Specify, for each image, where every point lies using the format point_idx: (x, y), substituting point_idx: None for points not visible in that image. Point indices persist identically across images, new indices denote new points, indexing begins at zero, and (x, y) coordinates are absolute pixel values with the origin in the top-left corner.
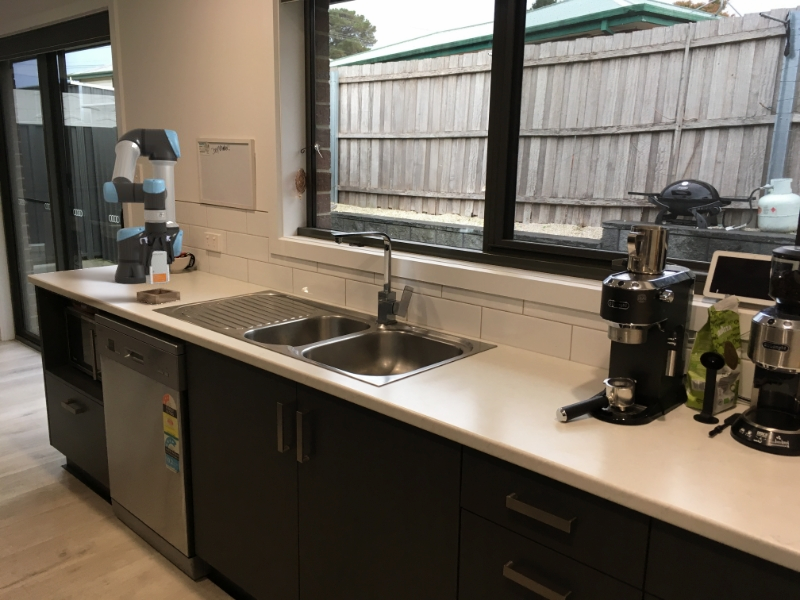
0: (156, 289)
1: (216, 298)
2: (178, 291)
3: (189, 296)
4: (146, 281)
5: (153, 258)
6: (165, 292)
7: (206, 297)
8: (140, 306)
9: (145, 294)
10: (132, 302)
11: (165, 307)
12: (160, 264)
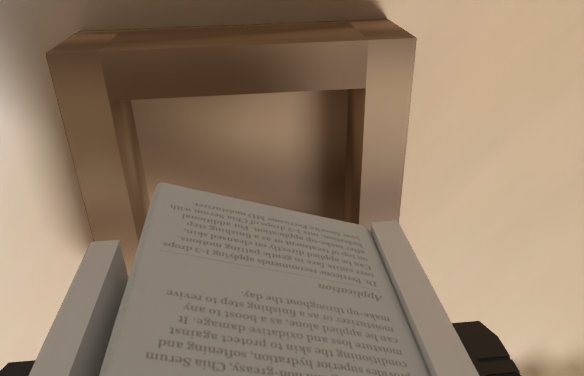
0: (316, 81)
1: (561, 353)
2: None
3: (523, 197)
4: (85, 260)
5: None
6: (356, 158)
7: (557, 297)
8: (6, 250)
9: (87, 205)
10: (4, 71)
11: None
12: None
